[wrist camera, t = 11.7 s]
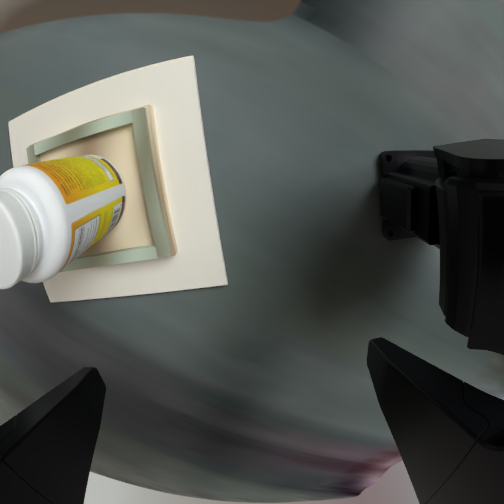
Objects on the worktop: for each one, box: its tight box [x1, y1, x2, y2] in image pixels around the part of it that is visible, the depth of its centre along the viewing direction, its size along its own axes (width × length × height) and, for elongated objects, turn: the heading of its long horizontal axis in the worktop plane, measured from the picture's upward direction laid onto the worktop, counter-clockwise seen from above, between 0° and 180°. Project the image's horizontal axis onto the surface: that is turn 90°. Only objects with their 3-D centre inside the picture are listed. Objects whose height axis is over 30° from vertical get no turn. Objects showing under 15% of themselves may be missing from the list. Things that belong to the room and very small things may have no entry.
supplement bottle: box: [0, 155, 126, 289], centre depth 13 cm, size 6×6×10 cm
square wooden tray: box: [26, 104, 178, 272], centre depth 18 cm, size 10×10×2 cm
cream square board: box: [9, 56, 228, 302], centre depth 19 cm, size 16×16×1 cm
